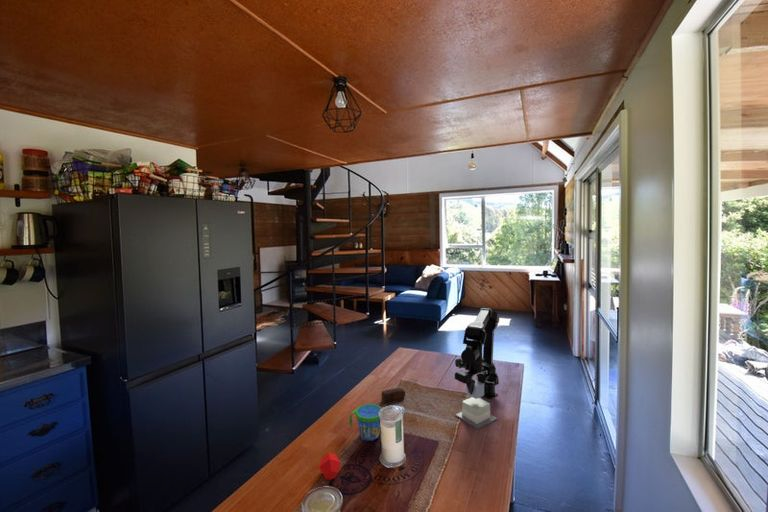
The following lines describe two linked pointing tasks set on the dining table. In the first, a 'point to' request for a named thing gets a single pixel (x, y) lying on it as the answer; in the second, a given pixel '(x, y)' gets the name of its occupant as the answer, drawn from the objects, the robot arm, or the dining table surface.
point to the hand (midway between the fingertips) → (475, 392)
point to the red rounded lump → (329, 466)
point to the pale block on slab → (476, 412)
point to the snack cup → (367, 421)
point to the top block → (477, 390)
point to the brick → (393, 395)
